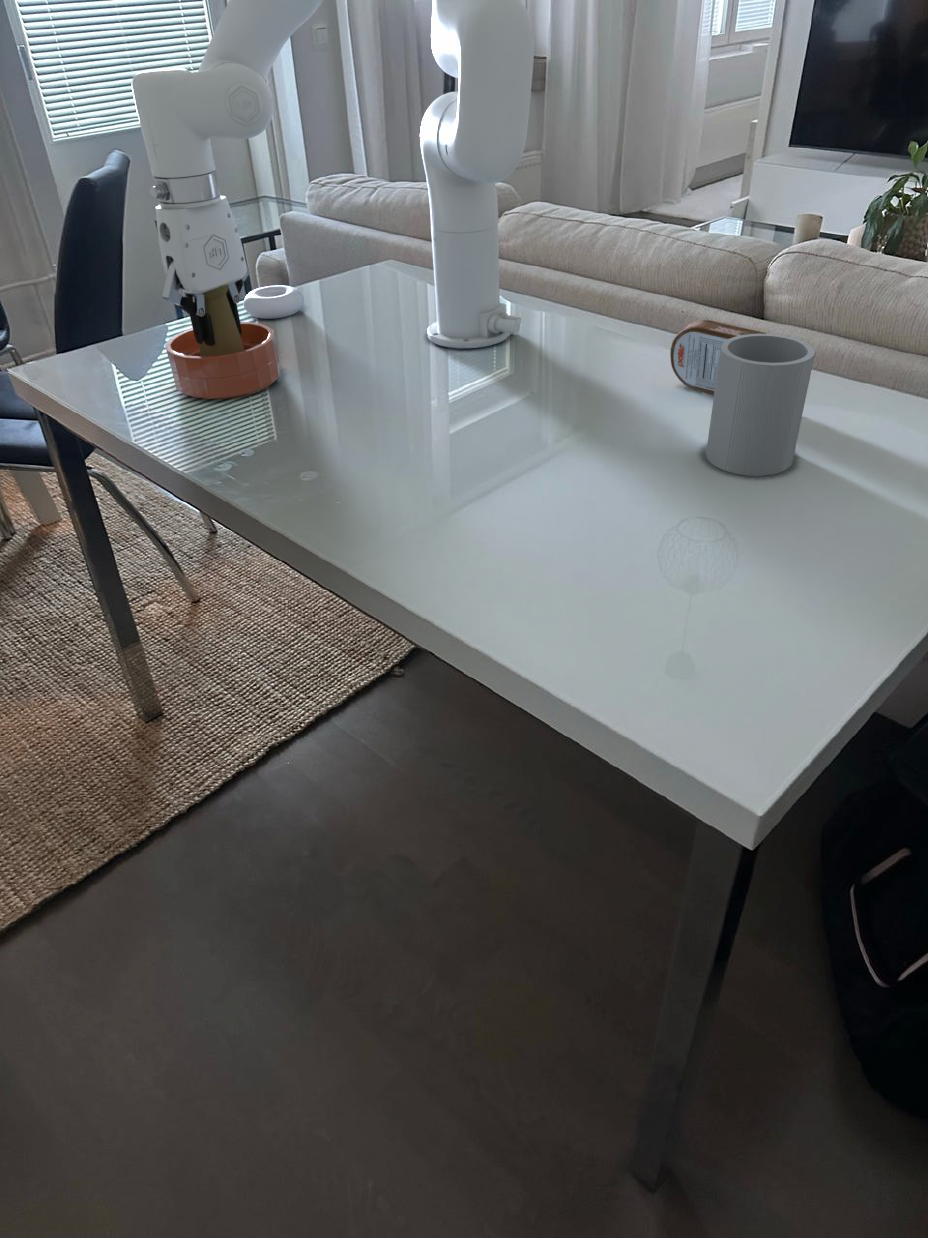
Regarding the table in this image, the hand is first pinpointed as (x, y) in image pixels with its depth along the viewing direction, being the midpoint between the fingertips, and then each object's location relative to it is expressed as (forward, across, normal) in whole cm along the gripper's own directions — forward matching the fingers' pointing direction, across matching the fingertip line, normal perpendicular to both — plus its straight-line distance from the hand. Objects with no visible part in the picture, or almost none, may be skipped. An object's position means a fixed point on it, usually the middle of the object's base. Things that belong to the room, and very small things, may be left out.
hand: (219, 336), depth 115 cm
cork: (+2, 0, 0) cm, 3 cm away
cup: (+6, +12, -70) cm, 71 cm away
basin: (+6, 0, 0) cm, 6 cm away
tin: (+6, +27, -61) cm, 67 cm away
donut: (+6, +26, +16) cm, 32 cm away
